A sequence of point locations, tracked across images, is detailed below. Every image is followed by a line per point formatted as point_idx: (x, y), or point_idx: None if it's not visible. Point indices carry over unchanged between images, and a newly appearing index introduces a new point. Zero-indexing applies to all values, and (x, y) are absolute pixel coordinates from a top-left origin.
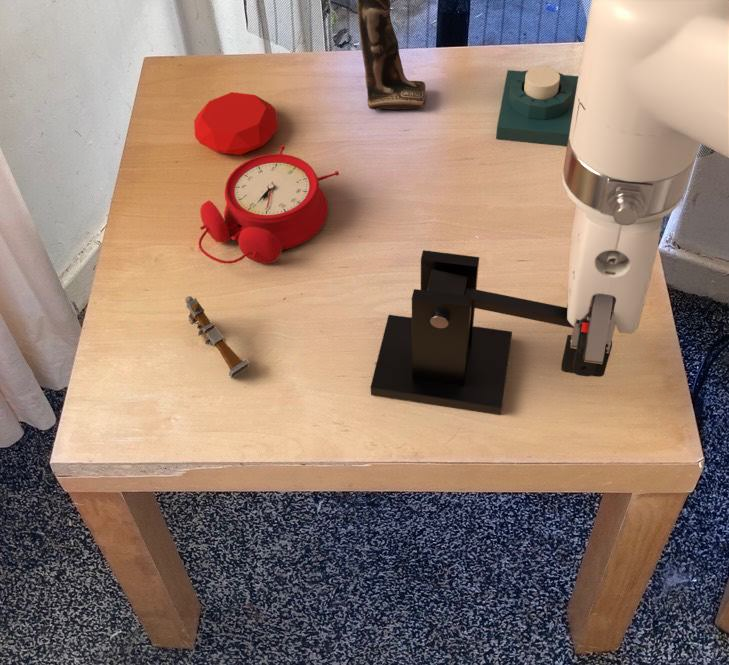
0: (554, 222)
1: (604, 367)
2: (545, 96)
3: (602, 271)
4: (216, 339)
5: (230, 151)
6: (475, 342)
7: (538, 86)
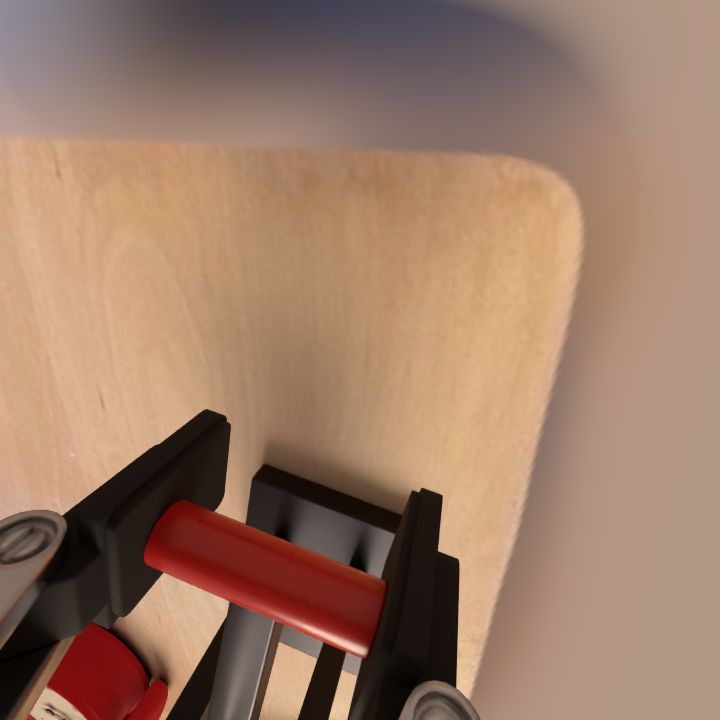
0: (9, 326)
1: (437, 529)
2: None
3: None
4: None
5: None
6: (277, 536)
7: None
